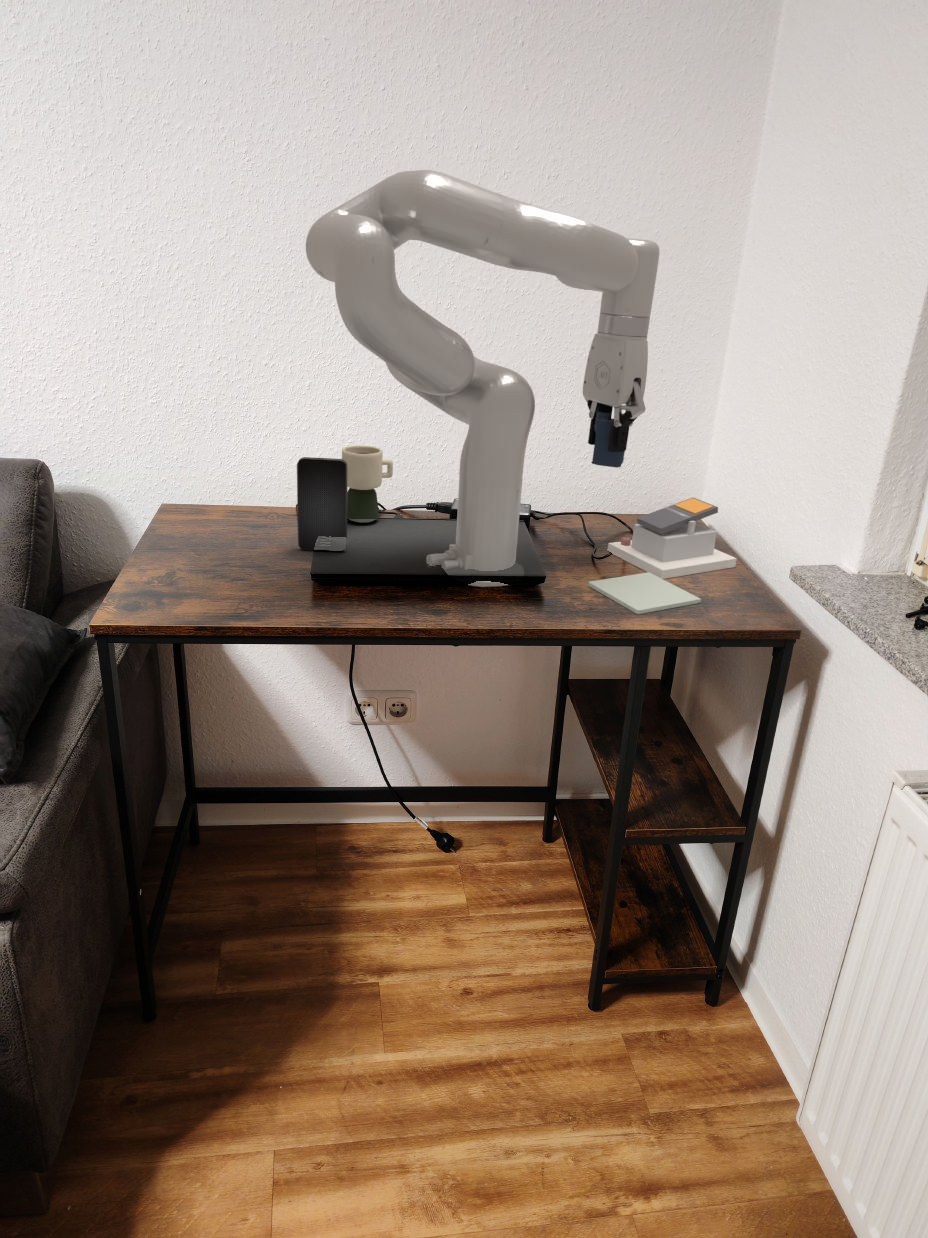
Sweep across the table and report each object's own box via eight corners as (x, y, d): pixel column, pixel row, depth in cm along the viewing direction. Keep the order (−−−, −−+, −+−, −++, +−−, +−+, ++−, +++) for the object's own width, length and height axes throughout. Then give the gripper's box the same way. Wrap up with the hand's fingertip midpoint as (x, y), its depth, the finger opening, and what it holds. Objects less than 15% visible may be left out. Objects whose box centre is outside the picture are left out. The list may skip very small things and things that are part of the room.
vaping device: (590, 460, 146) (600, 385, 141) (623, 465, 145) (634, 389, 140) (588, 464, 144) (598, 387, 139) (621, 468, 142) (632, 391, 138)
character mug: (387, 515, 166) (389, 444, 161) (394, 526, 160) (397, 454, 155) (328, 516, 163) (328, 444, 158) (333, 528, 157) (333, 454, 152)
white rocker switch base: (661, 579, 143) (668, 532, 140) (607, 551, 154) (612, 507, 151) (735, 566, 150) (743, 522, 147) (678, 541, 161) (685, 499, 158)
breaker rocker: (661, 534, 145) (660, 527, 144) (637, 523, 150) (637, 517, 149) (717, 513, 149) (717, 506, 149) (692, 503, 154) (692, 496, 153)
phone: (347, 549, 147) (347, 459, 141) (346, 552, 146) (346, 460, 140) (298, 547, 147) (296, 456, 141) (297, 549, 146) (295, 458, 140)
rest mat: (637, 614, 129) (638, 610, 129) (587, 585, 138) (588, 581, 138) (700, 602, 135) (701, 598, 134) (648, 575, 144) (648, 572, 144)
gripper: (570, 320, 141) (556, 437, 148) (639, 333, 127) (621, 461, 134) (608, 321, 144) (593, 435, 151) (679, 334, 131) (659, 459, 138)
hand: (606, 446), depth 143 cm, fingers closed on vaping device, 4 cm apart
